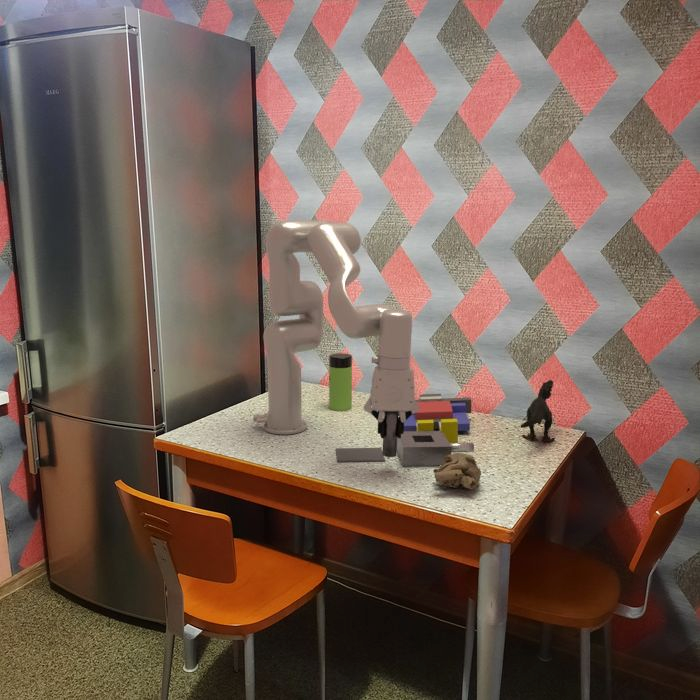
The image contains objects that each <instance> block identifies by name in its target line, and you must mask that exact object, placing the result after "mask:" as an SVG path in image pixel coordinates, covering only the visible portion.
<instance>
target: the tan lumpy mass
mask: <svg viewBox="0 0 700 700" xmlns="http://www.w3.org/2000/svg"><path fill="white" fill-rule="evenodd" d="M433 473H434V474H433V475H434V479H435V482H437V483H438V485H440V486H443V485H444V486H445V487H446V488H454V489H457V488H466V489H469V490H473V489H474V490H475V489H476V487H478V485H479V483H480V480H481V476H482V471H481V467H478V464H477V461H476V460H475V459H474V458H473V456H471V455H470V454H468V453H463V452H454V453H451V455H448V456H446V457H445V459H444V461H443V462H442V464H441V466H438V468H434V469H433Z"/></svg>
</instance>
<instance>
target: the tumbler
mask: <svg viewBox="0 0 700 700" xmlns="http://www.w3.org/2000/svg"><path fill="white" fill-rule="evenodd" d="M328 357H329V358H328V381H329V382H328V384H329V386H328V391H329V392H328V397H329V399H328V400H329V401H328V402H329V403H328V407H329V409H330V410H331V411H336V410H337V412H344V411H343V410H345V411H349V410H351V409H352V406H353V405H352V404H353V401H352V398H353V395H352V393H353V392H352V391H353V389H352V388H353V380H352V379H353V355H351V354H349V353H343V352H341V353H339V352H338V353H332V354H329V356H328Z"/></svg>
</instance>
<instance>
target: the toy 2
mask: <svg viewBox="0 0 700 700" xmlns="http://www.w3.org/2000/svg"><path fill="white" fill-rule="evenodd" d="M553 385H554V381H553V380H552V379H550V380H548V381H546V382H543V383H542V385H541V387H540V389H539V391H538V394H537V397H536V398H535V399H533V401H532V402H531V403H530V406H529V407H528V408H527V411H526V418H527V419H526V421H525V422H523V423H522V424H520V428H522V429H523V428H529V433H527V435H526V434H522V435H521V436H522V438H523V439H527V440H528V441H529V440H530V441H531V440H535V441H536V442H538V439H537V434H536V432H535V428H534V427H535V425H539V426H540V425H541V424H542V421H543V420H544V423H543V424H544V425H543V430H544V431H543V436H542V437H541V438H542V439H541V441H540V443H542V442H544V443H546V444H547V443H551V442H553V441H555V440H556V437H552V438H551V436H550V435H549V430H550V428H551V427H552V425H553V413H552V411H551V409H550V407H549V406H548V404H547V401H546V400H548V399H550V398H551V396H552V393H551V392H553Z"/></svg>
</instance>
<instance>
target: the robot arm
mask: <svg viewBox="0 0 700 700" xmlns="http://www.w3.org/2000/svg"><path fill="white" fill-rule="evenodd" d="M361 244H362V243H361V235H360V233H359V230H358V229H357V227H355V226H354V225H353V224H351V223H349V222H335V221H327V220H297V219H296V220H295V219H293V220H283V221H278V222H275V223H274V224H272V226H271V227H270V228H269V229H268V232H267V234H266V238H265V248H266V249H265V250H266V255H267V260H268V266H269V267H268V268H269V272H268V277H269V279H268V280H269V281H268V284H269V285H268V286H269V287H268V299H269V300H268V304H269V309H270V311H271V312H272V314H273V315H275V316H278V317H289V316H290V317H292V316H299V318H294V319H292V318H291V319H284V320H283V319H282V320H277V321H273V322H272V323H269V324H268V325H267V326H266V327H265V329H264V331H263V336H262V339H263V345H264V349H265V354H266V361H267V362H266V363H267V364H266V365H267V392H268V393H267V394H268V397H267V398H268V410H267V413H266V412H265V413H264V414H259V413H258V414H255V413H254V414H253V417H252V419H253V422H256V423H257V424H259V423H263V430H264V431H265V432H266V433H269V434H273V435H282V436H283V435H284V436H285V435H294V434H299V433H302V432H304V431H305V430H307V429H308V423H307V422H306V420H303V419H302V418H303V417H302V416H303V414H302V411H303V409H302V368H301V365H300V362H299V361H298V359H297V357H296V356H295V354H296V353H297V354H298V353H301V352H306V351H312V350H315V349H316V348H318V347H319V346H320V344H321V343H322V341H323V340H322V339H323V331H324V329H323V328H324V327H323V326H324V297H323V296H324V295H323V292H322V289H321V287H320V286H319V285H318V284H317V283H316V282H314V281H312V280H301V266H300V263H299V261H298V259H297V257H296V255H295V253H312V254H313V256H314V258H315V259H316V261H317V263H318V264H319V267H320V268H321V270H322V271H323V273H324V275H325V276H326V278H327V281H329V286H328V291H327V304H328V310H329V312H330V314H331V317H332V318H333V319H334V322H335V323H336V325H337V327H338V328H339V330H340V331H341V332H342V333H343V334H344V335H345V336H346V337H348V338H350V339H355V340H357V339H362V338H371V337H376V336H377V337H378V348H377V349H378V350H377V351H378V352H377V355H376V356H374V357H373V356H372V357H371V363H372V364H375V365H376V366H375V367H374V369H373V373H372V378H371V379H372V380H371V388H370V396H369V398H368V399H367V400H366V402H365V404H364V405H363V411H364V412H367V413H368V414H370V415H372V416H373V417H374V418H375V419H376V421H377V434H378V435H379V436H380V438H381V439H383V438H384V433H385V422H384V412H385V411H399V416H398V434H397V437H398V438H401V434H403V433H404V422H405V421H406V420H407V419H408V418H409V417H410V416H411V415H412V414H414V413H416V412H418V411H419V410H420V408H419V406H418V404H417V402H416V401H415V400H416V399H415V395H416V394H415V393H416V392H415V375H414V374H415V373H414V369H413V367H411V350H412V349H411V348H412V331H413V330H412V329H413V314H412V313H411V312H410V311H409V310H405V309H400V308H399V309H398V308H394V307H392V306H391V305H390V306H389V305H387V304H384V303H377V304H365V305H357V306H355V304H354V303H353V301H352V299H351V298H350V297H349V294H348V292H347V288H346V287H347V286H349V285H351V284H352V283H354V281H355V280H357V278H358V277H359V275H360V273H361V265H360V263H359V262H358V260H357V258H356V257H355V256H354V254H356V253H357V252H358V251H359V249H360V247H361Z"/></svg>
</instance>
